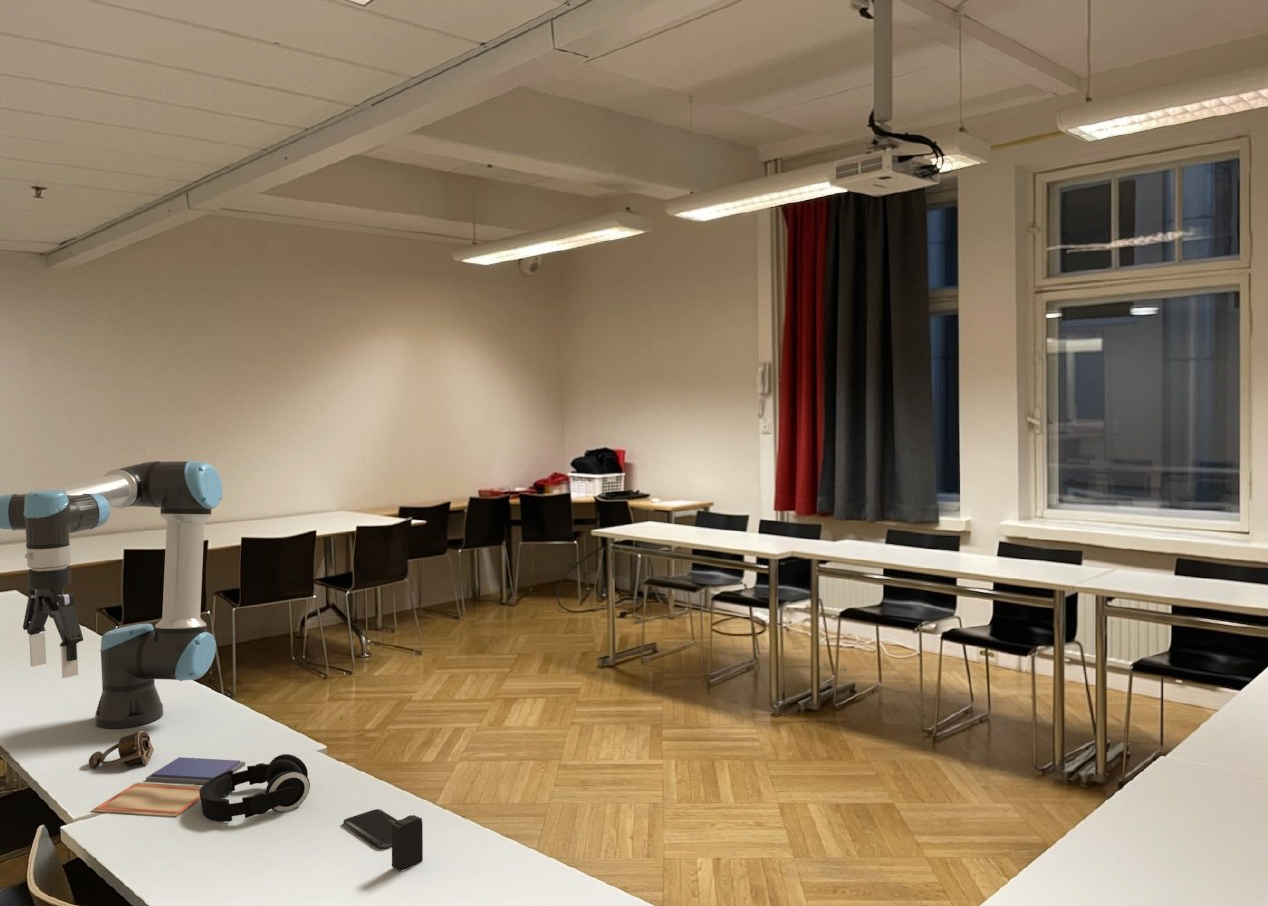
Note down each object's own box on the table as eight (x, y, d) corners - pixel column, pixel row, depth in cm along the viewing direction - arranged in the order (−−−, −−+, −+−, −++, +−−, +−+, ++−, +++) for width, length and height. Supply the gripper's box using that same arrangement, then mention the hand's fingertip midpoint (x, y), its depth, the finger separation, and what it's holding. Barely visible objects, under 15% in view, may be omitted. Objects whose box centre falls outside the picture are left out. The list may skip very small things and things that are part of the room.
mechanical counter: (131, 751, 206) (162, 726, 216) (78, 741, 208) (111, 717, 218) (134, 780, 208) (165, 754, 218) (82, 770, 211) (114, 745, 220)
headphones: (308, 773, 187) (194, 800, 180) (313, 812, 188) (201, 840, 181) (304, 743, 204) (200, 766, 196) (309, 779, 204) (206, 804, 197)
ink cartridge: (414, 857, 170) (414, 813, 169) (423, 861, 168) (422, 816, 168) (391, 868, 166) (390, 823, 165) (399, 872, 164) (399, 826, 164)
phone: (380, 847, 172) (341, 820, 183) (380, 853, 172) (341, 825, 183) (419, 833, 178) (379, 807, 188) (419, 839, 178) (379, 813, 188)
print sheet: (137, 783, 202) (137, 782, 202) (217, 788, 200) (217, 786, 200) (90, 811, 188) (90, 810, 188) (176, 817, 186) (176, 816, 186)
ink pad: (177, 761, 214) (177, 756, 214) (245, 765, 212) (245, 759, 212) (146, 780, 204) (146, 775, 204) (216, 785, 201) (216, 779, 201)
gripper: (1, 563, 199) (6, 664, 201) (59, 577, 185) (64, 686, 187) (40, 558, 206) (45, 656, 207) (99, 571, 191) (103, 676, 193)
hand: (54, 670), depth 197 cm, fingers open, 13 cm apart
